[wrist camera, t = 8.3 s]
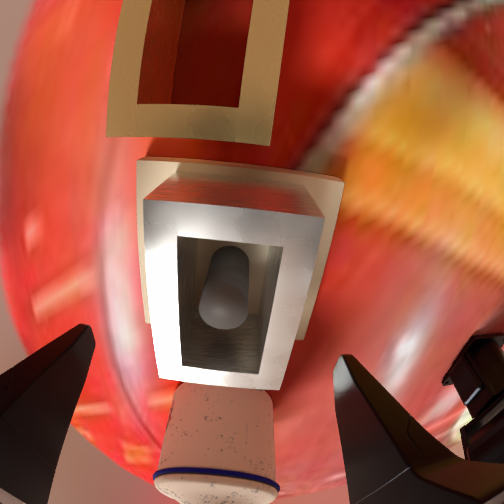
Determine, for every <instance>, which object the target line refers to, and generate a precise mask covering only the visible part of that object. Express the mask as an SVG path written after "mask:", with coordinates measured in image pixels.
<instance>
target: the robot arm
mask: <svg viewBox="0 0 504 504" xmlns="http://www.w3.org/2000/svg"><path fill="white" fill-rule="evenodd" d="M503 344H504V333H501V334H491V335H481V336H474V337H472V338H471V339H470V340H469V342H468V344H467V345H466V347H465V348H464V350H463V351H462V353H461V354H460V356H459V357H458V359H457V360H456V362H455V363H454V365H453V366H452V368H451V369H450V370H449V372H448V373H447V375H446V376H445V377H444V379H443V380H442V382H441V383H442V385H443V386H447V385H452V384H454V386H455V388H456V390H457V392H458V394H459V396H460V398H461V400H462V402H463V404H464V405H466V406H467V408H468V410H469V413H470V415H471V417H472V418H474V419H473V420H472V421H470V422H469V423H468V424H467V425H464V426H463V427H462V428H460V433H461V440H462V445H463V450H464V455H465V459H462V458H460V457H458V456H457V455H455V454H454V453H453V452H451V451H450V450H449V449H448V448H446V447H445V446H444V445H443V444H442V443H440V442H439V441H438V440H437V439H436V438H434V437H433V436H432V435H431V434H430V433H429V432H428V431H426V430H425V429H424V428H423V427H422V426H421V425H420V424H419V423H418V422H417V421H416V420H415V419H414V418H413V417H412V416H410V414H409V413H408V412H407V411H406V410H405V409H404V408H403V407H402V406H401V405H400V403H399V402H398V401H397V400H396V399H395V398H394V397H393V396H392V395H391V394H390V393H389V392H388V391H387V390H386V389H385V388H384V387H383V386H382V385H381V384H380V383H379V382H378V381H377V380H376V379H375V378H374V377H373V376H372V375H371V374H370V373H369V372H368V371H367V369H366V368H365V367H364V366H363V365H362V364H361V363H360V362H359V361H358V360H357V359H356V358H355V357H354V356H353V355H351V354H342V355H340V357H339V359H338V361H337V363H336V365H335V368H334V370H333V382H334V397H335V411H336V417H337V423H338V428H339V434H340V440H341V446H342V452H343V459H344V465H345V472H346V478H347V485H348V493H349V500H350V504H504V351H503V350H502V348H501V347H502V346H503ZM94 349H95V339H94V335H93V332H92V328H91V327H90V326H89V325H86V324H78V325H77V326H75V327H74V328H72V329H70V330H69V331H67V332H66V333H64V334H62V335H61V336H59V337H58V338H56V339H55V340H53V341H52V342H50V343H48V344H47V345H45V346H44V347H42V348H41V349H39V350H38V351H36V352H35V353H33V354H31V355H30V356H28V357H27V358H25V359H24V360H22V361H21V362H19V363H18V364H16V365H15V366H14V367H13V368H10V369H9V370H7V371H6V372H4V373H2V374H1V375H0V504H23V502H24V503H26V504H47V503H48V499H49V494H50V489H51V486H52V482H53V478H54V474H55V469H56V466H57V463H58V459H59V456H60V453H61V449H62V446H63V443H64V440H65V436H66V434H67V431H68V428H69V425H70V422H71V419H72V416H73V413H74V410H75V407H76V405H77V402H78V399H79V397H80V394H81V391H82V389H83V386H84V383H85V381H86V377H87V374H88V370H89V366H90V363H91V359H92V356H93V353H94Z"/></svg>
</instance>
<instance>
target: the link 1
mask: <svg viewBox="0 0 504 504" xmlns="http://www.w3.org/2000/svg"><path fill="white" fill-rule="evenodd" d="M289 1H290V0H253V7H252V13H251V20H250V27H249V33H248V40H247V47H246V55H245V62H244V69H243V77H242V85H241V93H240V101H239V108H234V107H222V106H207V105H186V104H171V98H172V88H173V79H174V71H175V63H176V56H177V49H178V42H179V36H180V30H181V24H182V18H183V13H184V7H185V2H186V0H123V3H122V8H121V13H120V17H119V22H118V28H117V33H116V39H115V45H114V52H113V59H112V66H111V75H110V84H109V95H108V109H107V128H106V137H169V138H189V139H205V140H218V141H229V142H239V143H248V144H257V145H265V146H270V142H271V135H272V128H273V120H274V113H275V106H276V98H277V91H278V83H279V76H280V69H281V61H282V54H283V46H284V39H285V31H286V23H287V16H288V8H289Z"/></svg>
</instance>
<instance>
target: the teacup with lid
mask: <svg viewBox="0 0 504 504" xmlns="http://www.w3.org/2000/svg"><path fill="white" fill-rule="evenodd" d="M153 480H154V484H155V487H156V488H157V489H158V490H159V491H160V492H161V493H162V494H164V495H166V496H168V497H170V498H173V499H175V500H177V501H178V502H179V503H181V504H269V503H270V502H272V501H274V500H275V499H276V497H277V496H278V492H279V490H280V486H279V485H278V484H277V483H276V466H275V442H274V420H273V403H272V400H271V398H270V396H269V395H268V393H267V392H266V391H264V390H263V389H249V388H237V387H226V386H216V385H208V384H200V383H192V382H184V383H182V384H181V385H180V386H179V387H178V388H177V389H176V391H175V393H174V395H173V400H172V404H171V409H170V413H169V418H168V422H167V427H166V431H165V436H164V441H163V446H162V451H161V455H160V460H159V466H158V471H156V472H155V473H154V474H153Z"/></svg>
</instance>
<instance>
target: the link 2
mask: <svg viewBox="0 0 504 504" xmlns="http://www.w3.org/2000/svg"><path fill="white" fill-rule="evenodd" d="M324 221H325V217H324V215H323V214H322V212H321V210H320V209H319V207H318V206H317V204H316V203H315V201H314V199H313V198H312V196H311V195H310V193H309V192H308V190H307V189H306V187H305V186H304V185H303V184H296V183H289V182H282V181H274V180H266V179H257V178H248V177H238V176H228V175H218V174H206V173H193V172H178V171H176V172H175V173H173V174H172V175H171V176H170V177H169V178H167V179H166V180H165V181H164V182H163V183H161V184H160V185H159V186H158V187H157V188H155V189H154V190H153V191H152V192H151V193H150V194H148V195H147V196H146V197H145V198H144V199H143V223H144V246H145V262H146V276H147V287H148V298H149V307H150V316H151V324H152V332H153V339H154V346H155V353H156V359H157V365H158V371H159V377H160V378H166V379H172V380H178V381H185V382H192V383H200V384H208V385H216V386H226V387H237V388H249V389H265V390H280V387H281V384H282V381H283V377H284V374H285V371H286V368H287V364H288V361H289V358H290V354H291V351H292V348H293V344H294V341H295V337H296V334H297V330H298V327H299V323H300V319H301V316H302V312H303V308H304V305H305V301H306V297H307V293H308V289H309V285H310V281H311V277H312V273H313V269H314V265H315V261H316V257H317V252H318V248H319V244H320V239H321V235H322V231H323V226H324ZM198 238H203V239H213V240H223V241H232V242H242V243H251V244H261V245H269V248H268V254H267V261H266V267H265V273H264V280H263V286H262V292H261V298H260V304H259V311H258V315H254V314H248V315H247V318H246V320H245V321H244V322H243V323H242V324H241V325H240V326H238V327H236V328H233V329H217V328H214V327H212V326H210V325H208V324H207V323H206V322H205V321H204V320H203V319H202V318H201V316H200V313H199V309H198V308H196V273H197V239H198Z"/></svg>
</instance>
